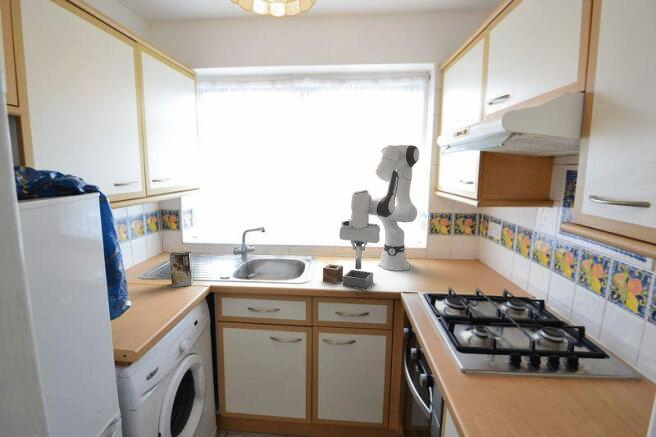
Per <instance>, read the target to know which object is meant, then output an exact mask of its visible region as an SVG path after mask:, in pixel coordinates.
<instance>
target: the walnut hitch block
mask: <svg viewBox="0 0 656 437" xmlns="http://www.w3.org/2000/svg"><path fill="white" fill-rule="evenodd" d="M343 276H344V265H339V264H332V263H331V264H330V263H328V264H326V266H324V267H322V281H323V282H326V283H334V284H338V283H340V281H343Z"/></svg>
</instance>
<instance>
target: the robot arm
mask: <svg viewBox="0 0 656 437" xmlns="http://www.w3.org/2000/svg"><path fill="white" fill-rule="evenodd" d="M419 158H420V151H419V147H418V146H416V145H412V144H409V145H407V144H399V145H392V144H390V145H387V146H385V147H383V149H382V150H381V151H380V154H379V155H378V159H377V160H376V162H375V165H374V172H375V175H376V176H377V177H378V178H379V179H380V180H381V181H385V182H386V183H387V184H386V190H385V194H384V195H383V196H374V195H372V194H370V192H369V190H368V189H357V190H354V191H353V192H352V196H351V203H350V209H351V214H350V218H348V219H346V220H342V221H341V224H340V225H341V226H340V228H339V239H340V240H343V241H350V244H351V245H352V250H354V251H356V244H355V243H354V241H359V242H364V244H363V245H362V247H361V251H362V252H364V251H365V250H366V246H367V245H368V243H369V244H370V243H372V244H378V243H379V242H380V241H381V240H380V238H381V237H380V232H381V226H380V225H379V224H378V223H369V222H370V220H369V218H370V217H369V216H376V217H377V218H378V219H379V220H380V221H381V223H382V226H383V228H384V237H385V238H384V244H383V250H384V251H382V252H381V253H380V262H379V263H378V264H377V265H378V267H381V268H382V269H384V270H387V271H396V272H397V271H409V270H410V262H409V261H408V260H407V253H406V251H405V250H406V246H405V231H404V229H403V228H401V227H400V226H399V224H398V223H405V224H406V223H413V222H414V221H416V219H417V217H418V210H417V207H416V206H415V205H414V204H413V202H412V200H411V196H410V193H411V192H410V191H411V187H412V186H411V185H412V178H413V167H414V165H416V163H417V162H418V161H419Z"/></svg>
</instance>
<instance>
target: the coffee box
mask: <svg viewBox="0 0 656 437" xmlns="http://www.w3.org/2000/svg"><path fill="white" fill-rule="evenodd" d="M192 262H193V261H192V252H191V251H175V252H171V253H170V254H169V265H170V266H169V267H170V268H169V269H170V279H171V280H170V281H171V287H172V288H179V287H188V286H189V287H190V286H192V285H193V282H194V279H193V278H194V277H193V266H192V264H193V263H192Z"/></svg>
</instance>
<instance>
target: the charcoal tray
mask: <svg viewBox="0 0 656 437" xmlns="http://www.w3.org/2000/svg"><path fill="white" fill-rule="evenodd" d="M373 282H374V272H373V271H371V272H370V271H363V270H359V269H350V270H349V271H347V272H346V273H345V274H343V279H342V286H343V287H348V288H349V287H350V288H354V289H360V290H367V289H369V287H370V286H371V285H372V283H373Z"/></svg>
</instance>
